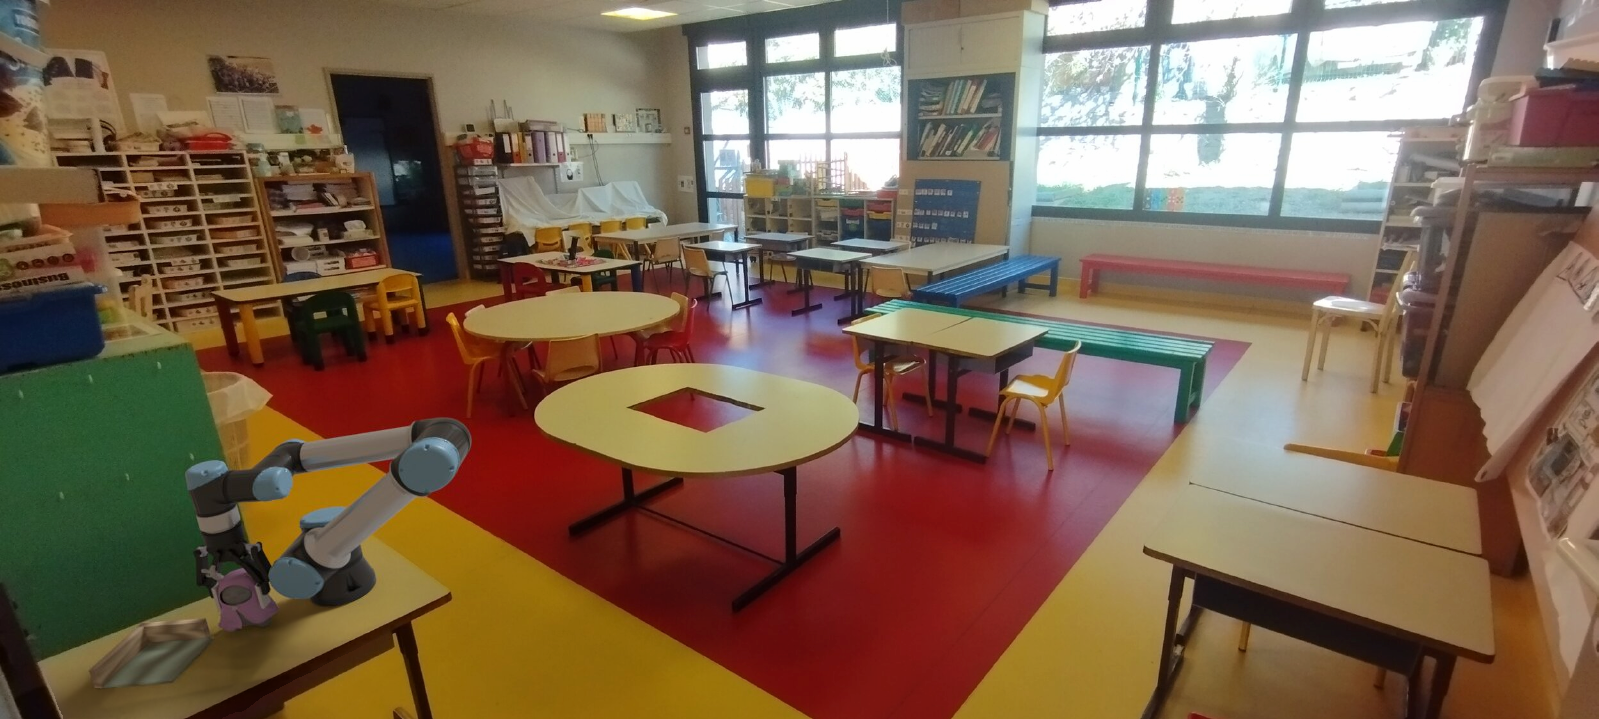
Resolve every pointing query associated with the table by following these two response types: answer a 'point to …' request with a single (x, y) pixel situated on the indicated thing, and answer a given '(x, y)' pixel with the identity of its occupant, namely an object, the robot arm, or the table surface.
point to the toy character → (240, 600)
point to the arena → (152, 654)
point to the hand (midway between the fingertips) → (244, 606)
